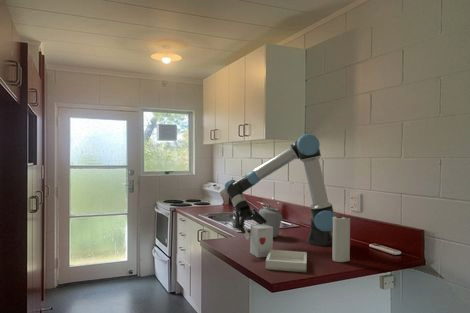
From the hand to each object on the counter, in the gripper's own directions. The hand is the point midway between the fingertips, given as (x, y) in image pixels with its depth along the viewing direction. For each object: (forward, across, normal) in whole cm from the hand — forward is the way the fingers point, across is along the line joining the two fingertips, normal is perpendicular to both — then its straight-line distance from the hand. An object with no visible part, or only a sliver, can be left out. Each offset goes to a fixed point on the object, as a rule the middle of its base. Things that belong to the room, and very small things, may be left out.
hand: (258, 236), depth 176 cm
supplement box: (+8, -1, -5) cm, 10 cm away
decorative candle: (-32, -29, -45) cm, 62 cm away
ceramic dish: (+21, 0, +8) cm, 23 cm away
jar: (-11, -32, -24) cm, 41 cm away
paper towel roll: (+29, -25, +16) cm, 42 cm away
